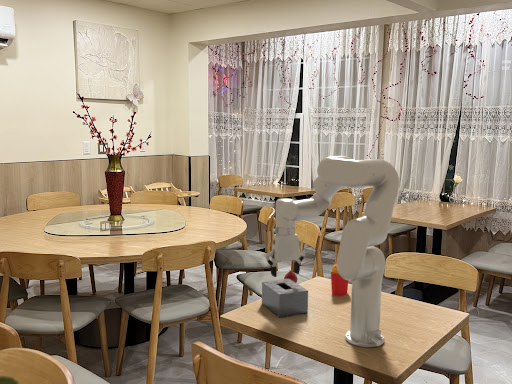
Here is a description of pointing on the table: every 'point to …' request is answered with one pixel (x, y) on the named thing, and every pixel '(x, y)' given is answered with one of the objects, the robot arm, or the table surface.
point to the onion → (291, 276)
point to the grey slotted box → (284, 298)
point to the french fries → (338, 282)
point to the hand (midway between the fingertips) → (285, 274)
